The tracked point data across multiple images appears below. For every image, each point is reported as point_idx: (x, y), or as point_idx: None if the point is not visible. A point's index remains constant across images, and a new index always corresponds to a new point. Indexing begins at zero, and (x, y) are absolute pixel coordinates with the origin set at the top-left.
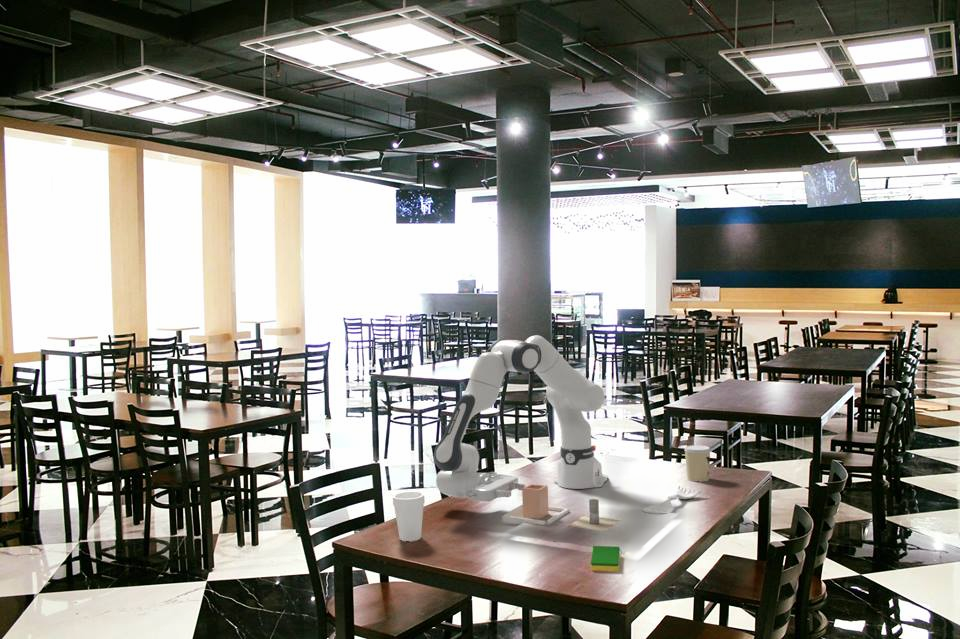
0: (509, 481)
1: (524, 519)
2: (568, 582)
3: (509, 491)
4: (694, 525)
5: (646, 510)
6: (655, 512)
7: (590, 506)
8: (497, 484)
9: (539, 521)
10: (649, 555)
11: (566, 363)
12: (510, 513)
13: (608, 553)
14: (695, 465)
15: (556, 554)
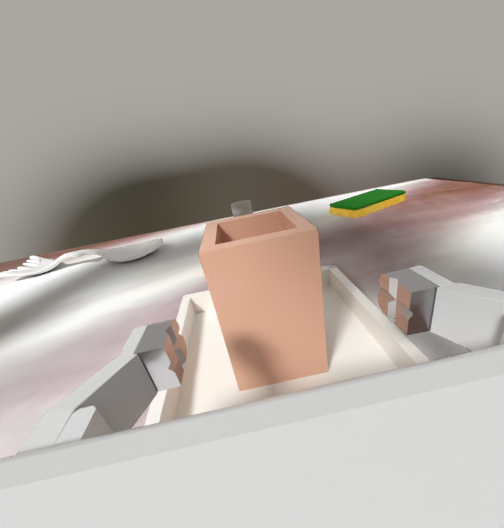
0: (125, 432)
1: (375, 307)
2: (460, 191)
3: (400, 270)
4: (184, 230)
5: (155, 244)
6: (162, 239)
7: (252, 213)
8: (497, 443)
9: (344, 276)
10: (308, 208)
11: None
12: None
13: (361, 197)
14: None
15: (418, 223)
